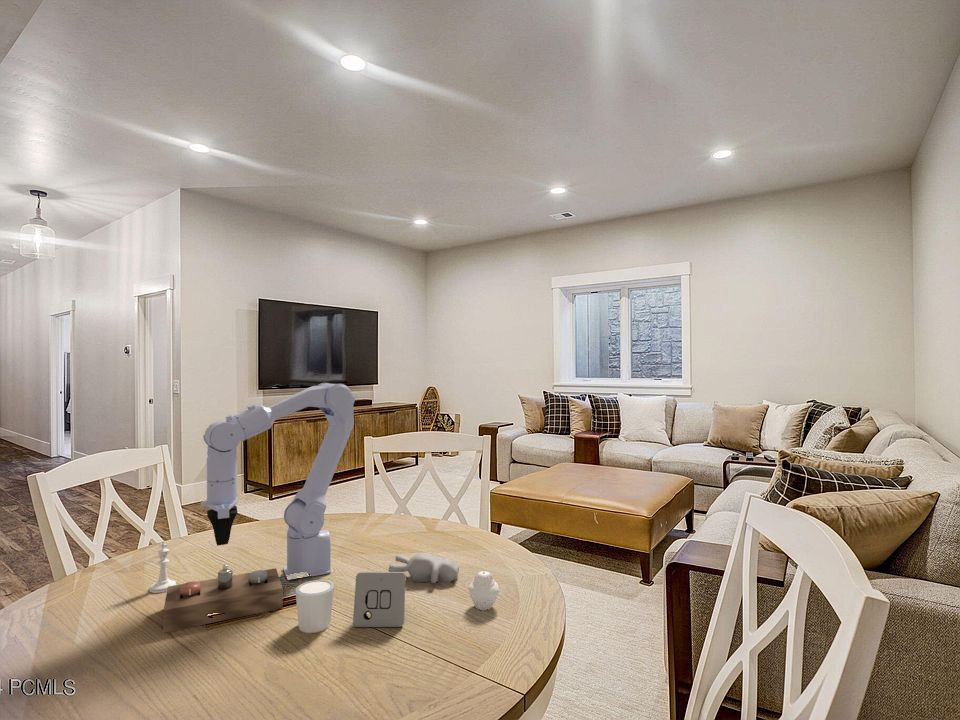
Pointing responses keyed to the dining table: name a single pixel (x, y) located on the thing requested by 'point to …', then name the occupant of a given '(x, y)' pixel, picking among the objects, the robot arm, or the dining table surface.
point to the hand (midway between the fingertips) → (222, 543)
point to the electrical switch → (379, 599)
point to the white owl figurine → (483, 590)
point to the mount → (221, 601)
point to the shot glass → (314, 605)
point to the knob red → (190, 589)
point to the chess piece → (162, 572)
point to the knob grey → (258, 577)
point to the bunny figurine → (426, 568)
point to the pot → (225, 578)
